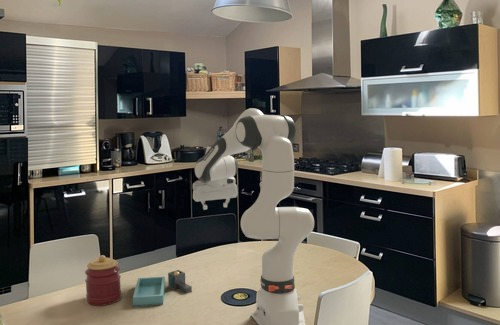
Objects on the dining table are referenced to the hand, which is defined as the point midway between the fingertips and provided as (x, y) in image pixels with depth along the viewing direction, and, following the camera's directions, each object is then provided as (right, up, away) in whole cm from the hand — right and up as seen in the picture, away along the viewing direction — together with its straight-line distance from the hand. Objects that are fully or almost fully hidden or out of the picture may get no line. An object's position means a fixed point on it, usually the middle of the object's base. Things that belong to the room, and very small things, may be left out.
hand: (215, 208), depth 207 cm
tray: (-24, -32, -26) cm, 48 cm away
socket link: (-13, -31, -20) cm, 39 cm away
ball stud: (-15, -31, -18) cm, 39 cm away
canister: (-41, -33, -30) cm, 60 cm away
